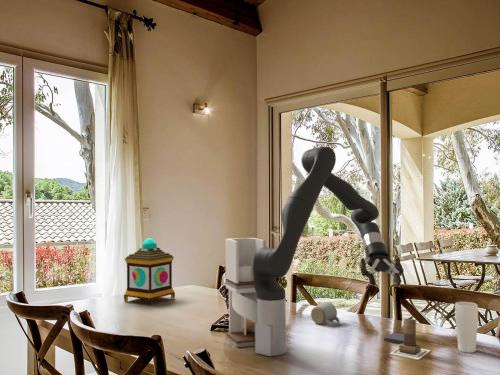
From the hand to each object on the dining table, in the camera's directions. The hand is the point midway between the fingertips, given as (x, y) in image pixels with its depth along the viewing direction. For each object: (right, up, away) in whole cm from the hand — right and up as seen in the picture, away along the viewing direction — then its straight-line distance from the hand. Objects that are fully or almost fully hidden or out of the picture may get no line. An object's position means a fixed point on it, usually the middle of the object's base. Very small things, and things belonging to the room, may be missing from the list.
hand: (386, 284), depth 167 cm
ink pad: (+5, -20, +4) cm, 21 cm away
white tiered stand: (-48, -20, +3) cm, 52 cm away
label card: (+5, -19, -11) cm, 23 cm away
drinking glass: (+23, -20, -9) cm, 32 cm away
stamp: (+5, -19, -11) cm, 22 cm away
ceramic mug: (-16, -21, +26) cm, 37 cm away
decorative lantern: (-95, -22, +71) cm, 120 cm away
